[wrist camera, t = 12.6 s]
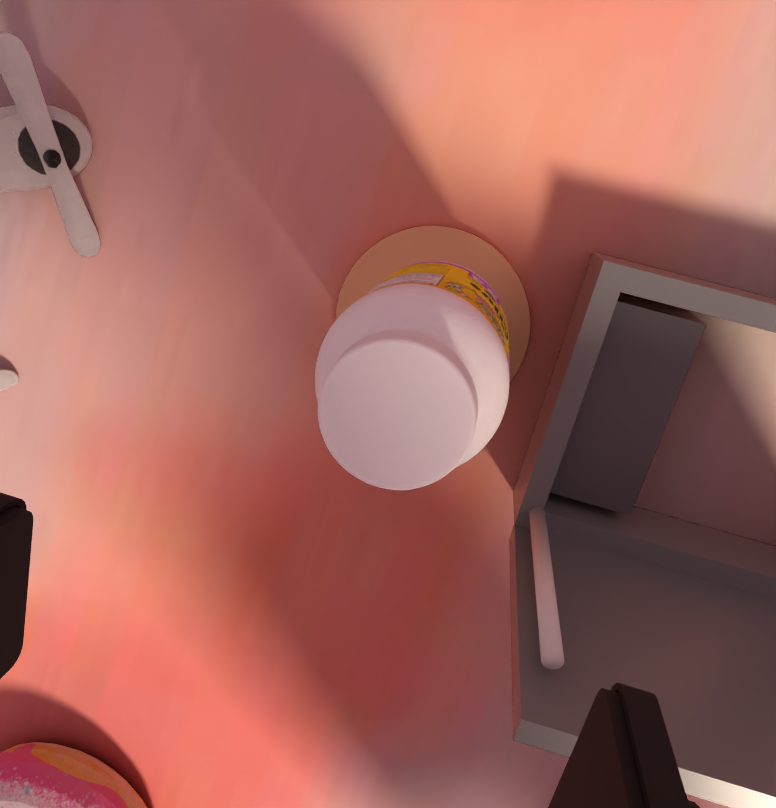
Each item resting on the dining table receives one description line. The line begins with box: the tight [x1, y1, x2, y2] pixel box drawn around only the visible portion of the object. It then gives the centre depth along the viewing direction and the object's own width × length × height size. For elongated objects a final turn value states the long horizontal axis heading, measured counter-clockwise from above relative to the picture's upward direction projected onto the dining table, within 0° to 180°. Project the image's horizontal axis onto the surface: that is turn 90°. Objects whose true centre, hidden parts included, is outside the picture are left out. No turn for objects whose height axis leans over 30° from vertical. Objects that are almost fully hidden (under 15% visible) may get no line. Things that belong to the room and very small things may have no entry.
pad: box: [335, 226, 530, 383], centre depth 33 cm, size 9×9×1 cm
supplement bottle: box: [315, 261, 510, 490], centre depth 26 cm, size 7×7×13 cm
